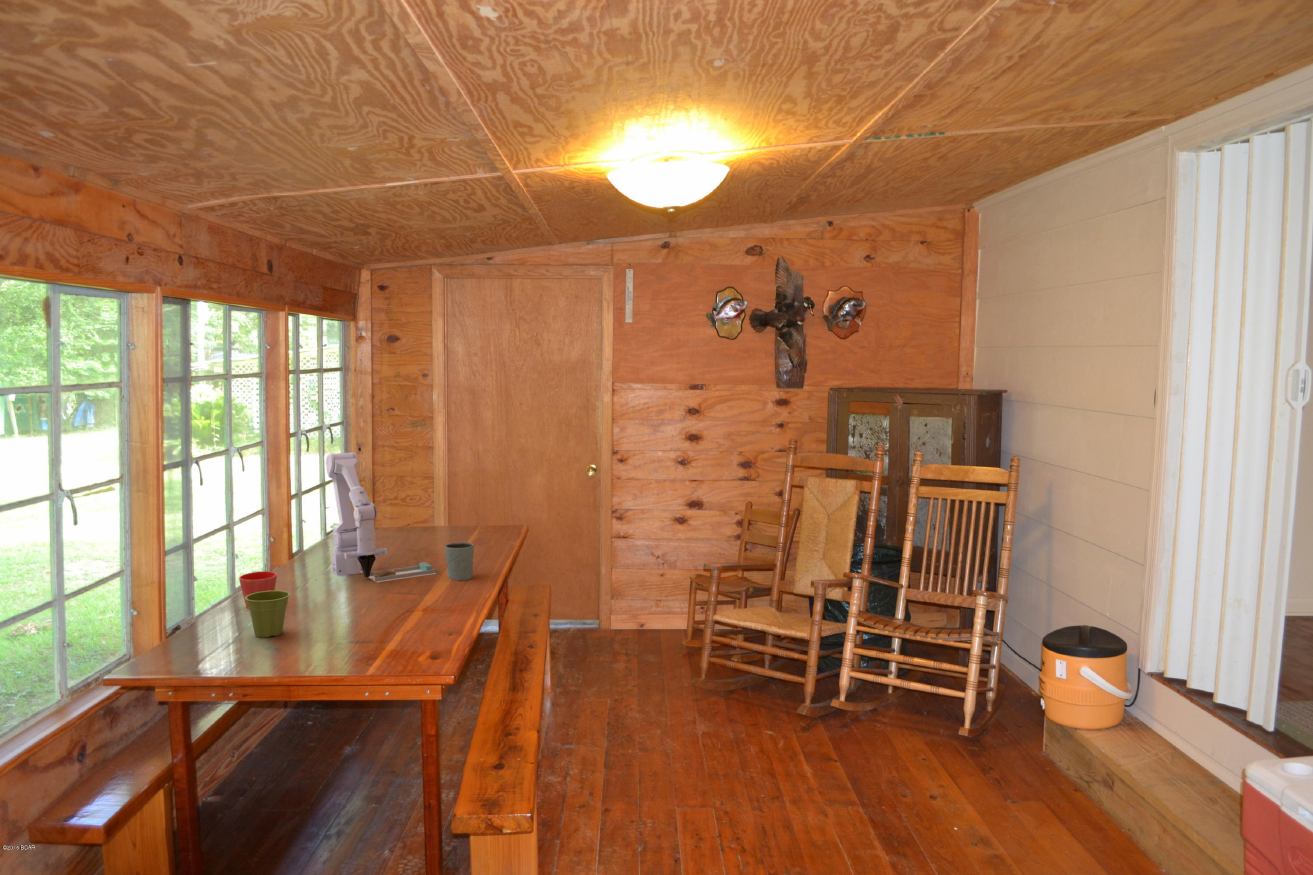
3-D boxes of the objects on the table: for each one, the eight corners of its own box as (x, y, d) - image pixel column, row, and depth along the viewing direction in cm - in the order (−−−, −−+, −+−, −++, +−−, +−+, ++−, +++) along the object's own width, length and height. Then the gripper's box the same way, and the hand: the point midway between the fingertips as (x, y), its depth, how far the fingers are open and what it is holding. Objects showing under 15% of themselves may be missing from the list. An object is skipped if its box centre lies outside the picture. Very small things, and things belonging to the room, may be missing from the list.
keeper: (378, 579, 310) (378, 573, 310) (374, 576, 314) (374, 570, 314) (395, 576, 313) (395, 571, 313) (390, 574, 318) (390, 568, 317)
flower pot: (260, 611, 273) (258, 580, 272) (232, 607, 276) (231, 577, 275) (285, 602, 282) (284, 572, 282) (258, 599, 286) (257, 570, 285)
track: (376, 583, 306) (376, 575, 306) (365, 576, 316) (365, 568, 315) (436, 574, 319) (436, 566, 319) (424, 568, 329) (424, 560, 328)
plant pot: (289, 638, 246) (287, 599, 245) (243, 642, 243) (241, 602, 242) (293, 626, 258) (292, 588, 257) (249, 629, 254) (248, 591, 253)
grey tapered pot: (467, 582, 308) (466, 548, 307) (440, 580, 310) (439, 547, 309) (478, 575, 318) (478, 542, 317) (452, 573, 320) (452, 541, 319)
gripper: (348, 543, 301) (349, 581, 303) (390, 538, 310) (391, 575, 311) (342, 539, 307) (343, 577, 308) (383, 534, 315) (384, 571, 317)
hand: (366, 576), depth 310 cm, fingers closed
